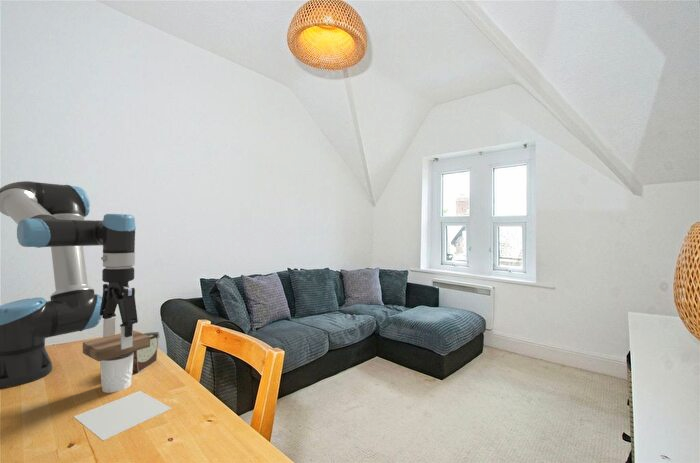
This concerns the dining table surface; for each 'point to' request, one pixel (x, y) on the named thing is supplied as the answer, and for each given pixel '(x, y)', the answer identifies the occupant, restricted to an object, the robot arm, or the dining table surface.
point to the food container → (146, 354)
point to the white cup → (116, 372)
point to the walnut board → (113, 346)
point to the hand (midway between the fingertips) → (117, 343)
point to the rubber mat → (121, 414)
